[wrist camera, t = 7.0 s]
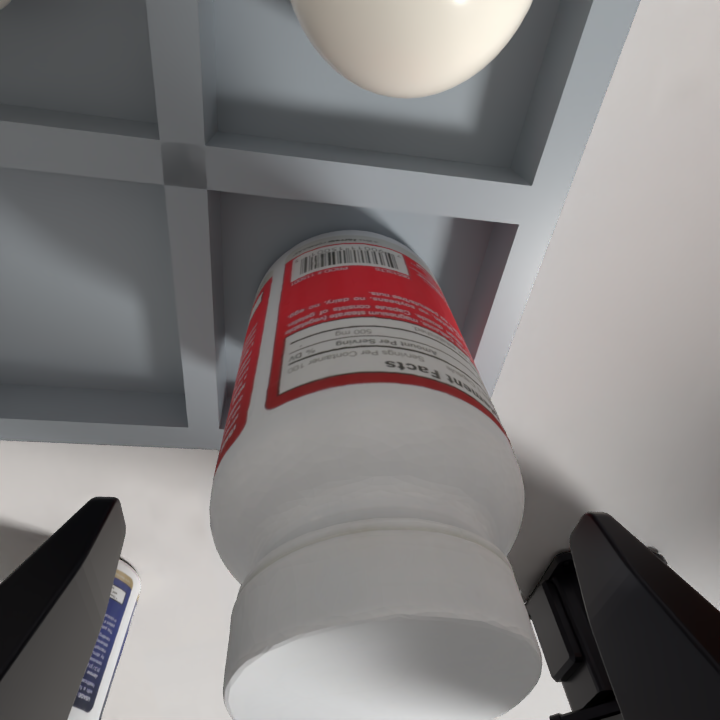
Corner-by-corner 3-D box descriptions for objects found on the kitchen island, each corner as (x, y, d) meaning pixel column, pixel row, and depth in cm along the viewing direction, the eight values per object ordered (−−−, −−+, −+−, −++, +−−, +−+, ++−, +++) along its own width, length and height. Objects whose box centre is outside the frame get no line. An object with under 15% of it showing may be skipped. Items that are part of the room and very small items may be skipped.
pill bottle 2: (336, 412, 18) (350, 788, 10) (213, 305, 15) (64, 710, 6) (476, 321, 16) (661, 691, 8) (366, 178, 13) (456, 510, 4)
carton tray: (694, -329, 9) (801, -426, 7) (452, 415, 20) (467, 460, 18) (-538, -677, 7) (-908, -972, 5) (-50, 387, 18) (-98, 435, 16)
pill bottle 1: (12, 549, 23) (-145, 823, 16) (125, 541, 24) (27, 807, 16) (56, 606, 27) (-56, 857, 19) (155, 599, 27) (85, 844, 19)
